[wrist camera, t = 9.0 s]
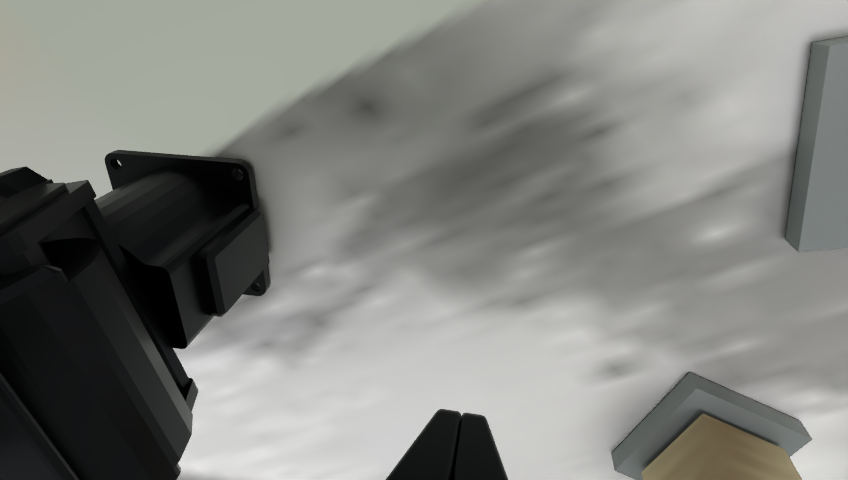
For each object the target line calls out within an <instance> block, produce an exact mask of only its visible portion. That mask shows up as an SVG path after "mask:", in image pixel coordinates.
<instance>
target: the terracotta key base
mask: <svg viewBox="0 0 848 480" xmlns="http://www.w3.org/2000/svg"><path fill="white" fill-rule="evenodd" d="M785 240H786V241H787V242H788V243H789V244H790V245H791V246H792V247H793V248H794V249H795V250H796V251H798V252H808V251H820V250H833V249H845V248H848V36H847V37H841V38H835V39H829V40H823V41H817V42H812V47H811V55H810V62H809V69H808V77H807V84H806V91H805V98H804V106H803V113H802V120H801V127H800V135H799V142H798V149H797V156H796V164H795V171H794V178H793V185H792V193H791V200H790V207H789V214H788V222H787V229H786V236H785Z"/></svg>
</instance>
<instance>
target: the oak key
mask: <svg viewBox="0 0 848 480" xmlns="http://www.w3.org/2000/svg"><path fill="white" fill-rule="evenodd" d="M641 473H642V477H643V480H802V479H801V477H800V475H799V473H798V472H797V470H796V468H795V466H794V465H793V463H792V461H791V459H790V458H789V456H788V454H787V452H786V451H785V449H783V448H781V447H778V446H776V445H774V444H771V443H769V442H767V441H765V440H762V439H760V438H758V437H755V436H753V435H751V434H749V433H746V432H744V431H742V430H739V429H737V428H735V427H733V426H730V425H728V424H726V423H724V422H721V421H719V420H717V419H714V418H712V417H710V416H708V415H705V414H702V415H701V416H700V417H699V418H698V419H696V420H695V421H694V422H693V423H692V424H691V425H690V426H689V427H688V428H687V429H686V430H685V431H684V432H683V433H682V434H681V435H680V436H679V437H678V438H677V439H676V440H675V441H674V442H672V443H671V444H670V445H669V446H668V447H667V448H666V449H665V450H664V451H663V452H662V453H661V454H660V455H659V456H658V457H657V458H656V459H655V460H654V461H653V462H652V463H651V464H649V465H648V466H647V467H646V468H645V469H644V470H643V471H642V472H641Z"/></svg>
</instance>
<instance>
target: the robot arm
mask: <svg viewBox="0 0 848 480" xmlns="http://www.w3.org/2000/svg"><path fill="white" fill-rule="evenodd" d="M117 160H118V161H120V163H121V166H120V165H119V164H118V162H117ZM105 164H106V167H107V171H108V175H109V178H110V181H111V185H112V188H113V191H111V192H109V193H107V194H106V195H104V196H102V197H100V198H98V199H96V200H94V198H95V197H96V194H95V192H94V190H93V188H92V186H91V185H90V183H89V181H88V180H85V181H78V182H72V183H67V184H65V183H53V181H52V179H50V180H47V179H46V178H44V177H42V176H41V175H39V174H37V173H36V172H34V171H33V170H31V169H29V168H28V167H21V168H15V169H11V170H8V171H5V172H2V173H0V480H176V479H177V478H178V476H179V474H180V472H181V468H180V466H179V465H178V462H179V461H180V459H181V457H182V454H183V452H184V450H185V448H186V446H187V443H188V441H189V439H190V437H191V435H192V418H193V415H192V413H191V412H192V409H193V406H194V403H195V400H196V397H197V394H198V389H197V387H196V385H195V383H194V381H193V379H192V378H188V376H187V374H186V372H185V370H184V368H183V367H182V365H181V363H180V361H179V359H178V357H177V355H176V353H175V351H174V350H173V348H179V349H185V348H186V347H187V346H188V345H189V344H190V343H191V342H192V340H193V339H194V338H195V337H196V336H197V335H198V334H199V333H200V331H201V330H202V329H203V328H204V327H205V326H206V325H207V324H208V322H209V321H210V320H211V319H212V318H213V317H214V316H217V317H222V316H223V315H224V314H225V313H226V312H227V311H228V310H229V309H230V308H231V307H232V306H233V304H234V303H235V302H236V301H237V300H238V299H239V297H240V296H241V295H242V294H246V295H254V296H261V295H263V294H264V293H265V292H266V291H267V290H268V288H269V287H270V282H269V275H268V268H267V265H268V264H269V254H268V247H267V240H266V233H265V226H264V219H263V214H262V212H261V211H260V210H259V206H258V199H257V193H256V186H255V179H254V172H253V169H252V167H251V166H250V164H249V163H247V162H246V161H243V160H238V159H226V158H213V157H200V156H188V155H174V154H163V153H150V152H137V151H125V150H117V151H113V152H111V153H109V154H108V155H106V157H105ZM236 169H240V170H241V171H242V173H243V177H242V176H240V175H238V173H237V171H236ZM255 282H256V283H258V284H259V285H260V286H261V287H259V286H257V285H256V284H255ZM386 480H508V478H507V475H506V472H505V470H504V467H503V464H502V461H501V458H500V456H499V453H498V450H497V447H496V444H495V442H494V439H493V436H492V433H491V430H490V428H489V425H488V422H487V420H486V418H485V417H484V416H482V415H477V414H471V413H464V414H463V415H462V417H461V413H460V412H458V411H452V410H445V409H440V410H438V411H437V412H436V413H435V415H434V416H433V417H432V419H431V420H430V421H429V423H428V424H427V425H426V427H425V428H424V429H423V431H422V432H421V433H420V435H419V436H418V437H417V439H416V440H415V441H414V443H413V444H412V445H411V447H410V448H409V449H408V451H407V452H406V453H405V455H404V456H403V457H402V459H401V460H400V461H399V463H398V464H397V465H396V467H395V468H394V469H393V471H392V472H391V473H390V475H389V476H388V477H387V479H386Z"/></svg>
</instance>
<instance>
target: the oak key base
mask: <svg viewBox="0 0 848 480" xmlns="http://www.w3.org/2000/svg"><path fill="white" fill-rule="evenodd" d="M702 414H705V415H708V416H710V417H712V418H714V419H717V420H719V421H721V422H724V423H726V424H728V425H730V426H733V427H735V428H737V429H739V430H742V431H744V432H746V433H749V434H751V435H753V436H755V437H758V438H760V439H762V440H765V441H767V442H769V443H771V444H774V445H776V446H778V447H781V448H783V449H785V451H786V452H787V454H788V456H789V457H790V456H792V455H793V454H794V453H795V452H797V451H798V450H799V449H800V448H802V447H803V446H804V445H805V444H807V443H808V442H809V441H811V440H812V438H811V437H810V435H809V433H808V432H807V430H806V429H805V427H804V426H803V424H802V423H801V421H799V420H797V419H795V418H792V417H790V416H788V415H786V414H783V413H781V412H779V411H777V410H774V409H772V408H770V407H768V406H765V405H763V404H761V403H758V402H756V401H754V400H752V399H749V398H747V397H745V396H743V395H740V394H738V393H736V392H734V391H731V390H729V389H727V388H725V387H722V386H720V385H718V384H716V383H713V382H711V381H709V380H706V379H704V378H702V377H700V376H697V375H695V374H693V373H691V372H689V373H688V374H687V375H686V376H685V377H684V378H683V379H682V380H681V381H680V383H679V384H678V385H677V386H676V387H675V388H674V389H673V390H672V391H671V392H670V393H669V394H668V395H667V396H666V397H665V398H664V399H663V400H662V401H661V402H660V403H659V404H658V405H657V406H656V408H655V409H654V410H653V411H652V412H651V413H650V414H649V415H648V416H647V417H646V418H645V419H644V420H643V421H642V422H641V423H640V424H639V425H638V426H637V427H636V428H635V429H634V430H633V431H632V432H631V434H630V435H629V436H628V437H627V438H626V439H625V440H624V441H623V442H622V443H621V444H620V445H619V446H618V447H617V448H616V449H615V450H614V451H613V452H612V453H611V454H612V459H613V464H614V469H615V471H617V472H619V473H622V474H624V475H626V476H629V477H631V478H633V479H636V480H643V477H642V473H641V472H642V471H643V470H644V469H645V468H646V467H647V466H648V465H649V464H651V463H652V462H653V461H654V460H655V459H656V458H657V457H658V456H659V455H660V454H661V453H662V452H663V451H664V450H665V449H666V448H667V447H668V446H669V445H670V444H671V443H672V442H674V441H675V440H676V439H677V438H678V437H679V436H680V435H681V434H682V433H683V432H684V431H685V430H686V429H687V428H688V427H689V426H690V425H691V424H692V423H693V422H694V421H695V420H696V419H698V418H699V417H700V416H701V415H702Z"/></svg>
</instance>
